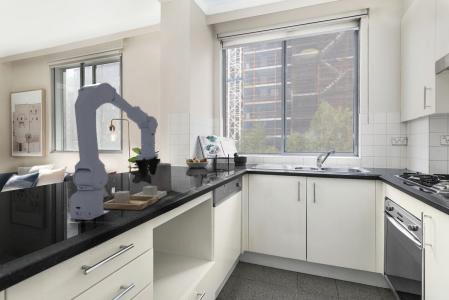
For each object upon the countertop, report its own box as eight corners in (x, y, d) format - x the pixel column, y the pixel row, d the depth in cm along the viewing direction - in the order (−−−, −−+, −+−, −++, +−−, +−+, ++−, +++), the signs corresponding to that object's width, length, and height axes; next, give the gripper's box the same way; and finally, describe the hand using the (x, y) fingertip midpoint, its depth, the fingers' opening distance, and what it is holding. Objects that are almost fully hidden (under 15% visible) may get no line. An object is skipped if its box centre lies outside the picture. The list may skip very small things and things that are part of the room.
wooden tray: (140, 211, 83) (140, 205, 83) (101, 209, 86) (101, 203, 86) (158, 201, 97) (158, 196, 97) (124, 200, 100) (124, 195, 100)
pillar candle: (155, 189, 124) (154, 160, 124) (173, 189, 124) (173, 160, 124) (148, 193, 115) (147, 162, 114) (168, 193, 114) (168, 162, 114)
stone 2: (152, 198, 101) (152, 187, 101) (143, 197, 102) (142, 187, 102) (157, 196, 105) (157, 186, 105) (147, 195, 106) (147, 185, 106)
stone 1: (126, 204, 91) (126, 193, 90) (114, 205, 90) (114, 193, 90) (130, 202, 94) (129, 191, 94) (118, 202, 94) (118, 191, 94)
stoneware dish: (155, 201, 98) (155, 196, 97) (132, 200, 99) (132, 195, 99) (166, 195, 108) (166, 191, 108) (145, 195, 110) (145, 190, 110)
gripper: (148, 144, 95) (148, 178, 95) (164, 144, 109) (164, 173, 109) (132, 144, 96) (132, 177, 97) (149, 144, 110) (150, 173, 111)
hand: (148, 175), depth 103 cm, fingers open, 7 cm apart
